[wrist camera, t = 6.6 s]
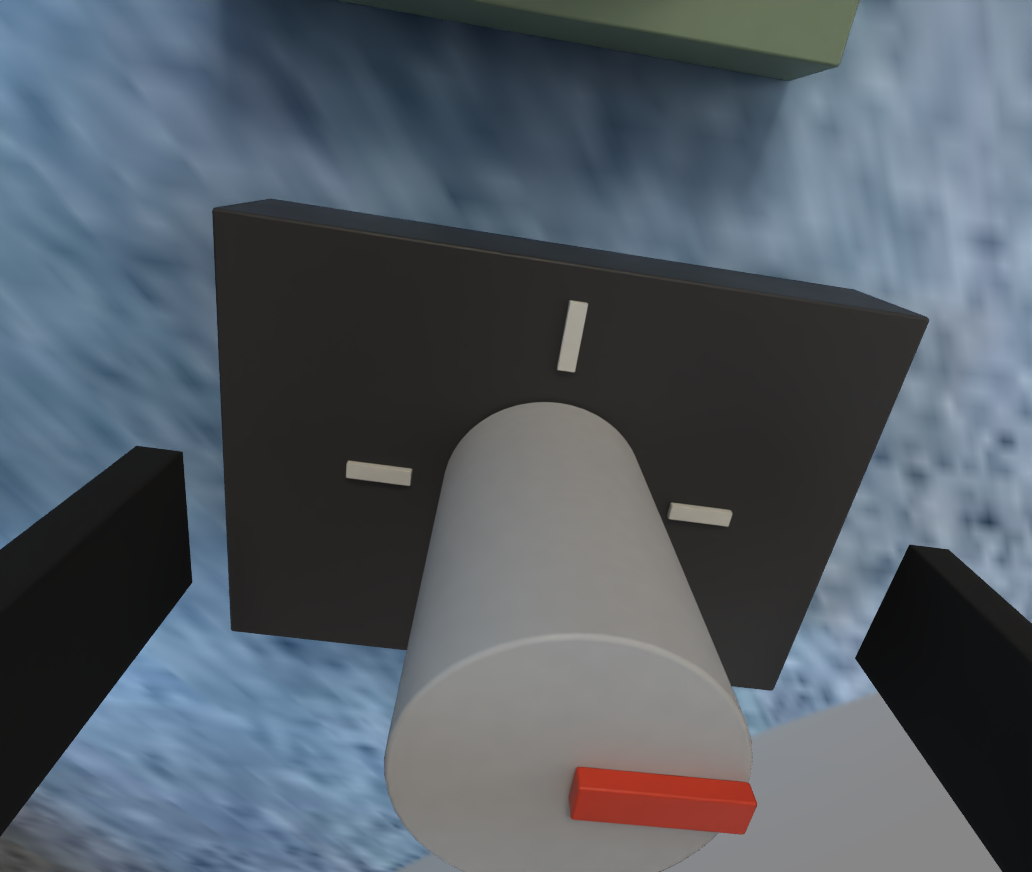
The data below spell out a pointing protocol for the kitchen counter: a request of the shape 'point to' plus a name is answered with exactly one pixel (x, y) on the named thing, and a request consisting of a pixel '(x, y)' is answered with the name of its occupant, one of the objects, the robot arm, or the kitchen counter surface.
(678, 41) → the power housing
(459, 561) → the timer dial
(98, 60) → the kitchen counter surface
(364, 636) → the panel
